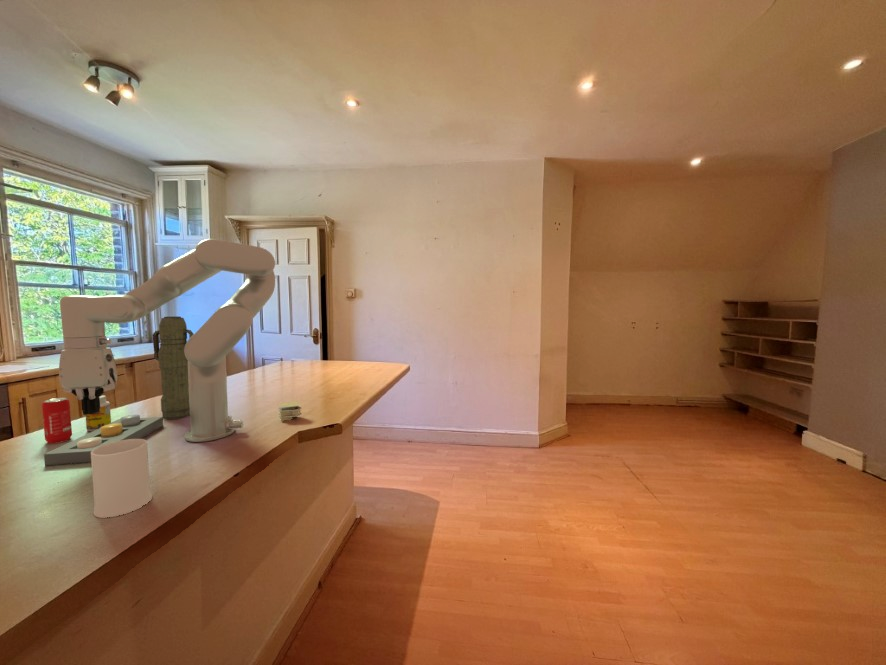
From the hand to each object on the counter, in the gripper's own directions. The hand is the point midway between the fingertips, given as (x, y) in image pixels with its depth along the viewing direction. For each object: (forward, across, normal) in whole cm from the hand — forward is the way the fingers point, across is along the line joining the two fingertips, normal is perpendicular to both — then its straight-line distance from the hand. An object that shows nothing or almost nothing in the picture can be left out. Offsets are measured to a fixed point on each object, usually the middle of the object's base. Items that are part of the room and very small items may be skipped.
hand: (91, 413), depth 90 cm
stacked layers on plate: (+12, -45, -18) cm, 50 cm away
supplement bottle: (+11, +12, -21) cm, 27 cm away
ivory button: (+10, 0, +1) cm, 10 cm away
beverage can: (+11, +16, -12) cm, 23 cm away
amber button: (+9, 0, -7) cm, 12 cm away
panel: (+11, 0, -7) cm, 13 cm away
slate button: (+9, 0, -15) cm, 18 cm away
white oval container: (+11, -22, +28) cm, 37 cm away
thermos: (+11, -5, -31) cm, 33 cm away
